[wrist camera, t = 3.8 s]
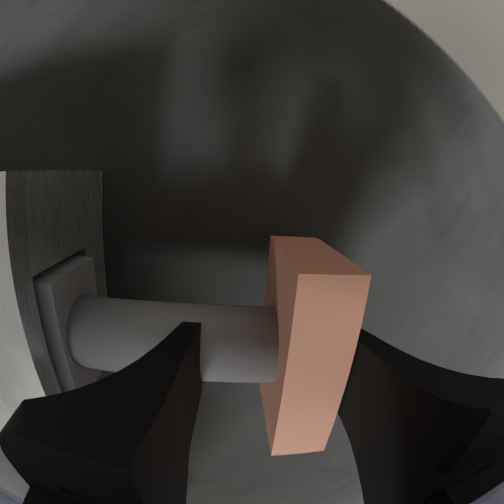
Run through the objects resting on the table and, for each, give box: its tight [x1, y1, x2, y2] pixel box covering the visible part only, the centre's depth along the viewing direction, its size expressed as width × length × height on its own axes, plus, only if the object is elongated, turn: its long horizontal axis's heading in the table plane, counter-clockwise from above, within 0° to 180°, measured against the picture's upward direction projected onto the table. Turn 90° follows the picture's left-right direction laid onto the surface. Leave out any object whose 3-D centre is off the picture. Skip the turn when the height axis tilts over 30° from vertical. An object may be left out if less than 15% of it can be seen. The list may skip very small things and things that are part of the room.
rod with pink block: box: [32, 235, 371, 455], centre depth 10 cm, size 7×19×5 cm, turn 87°
